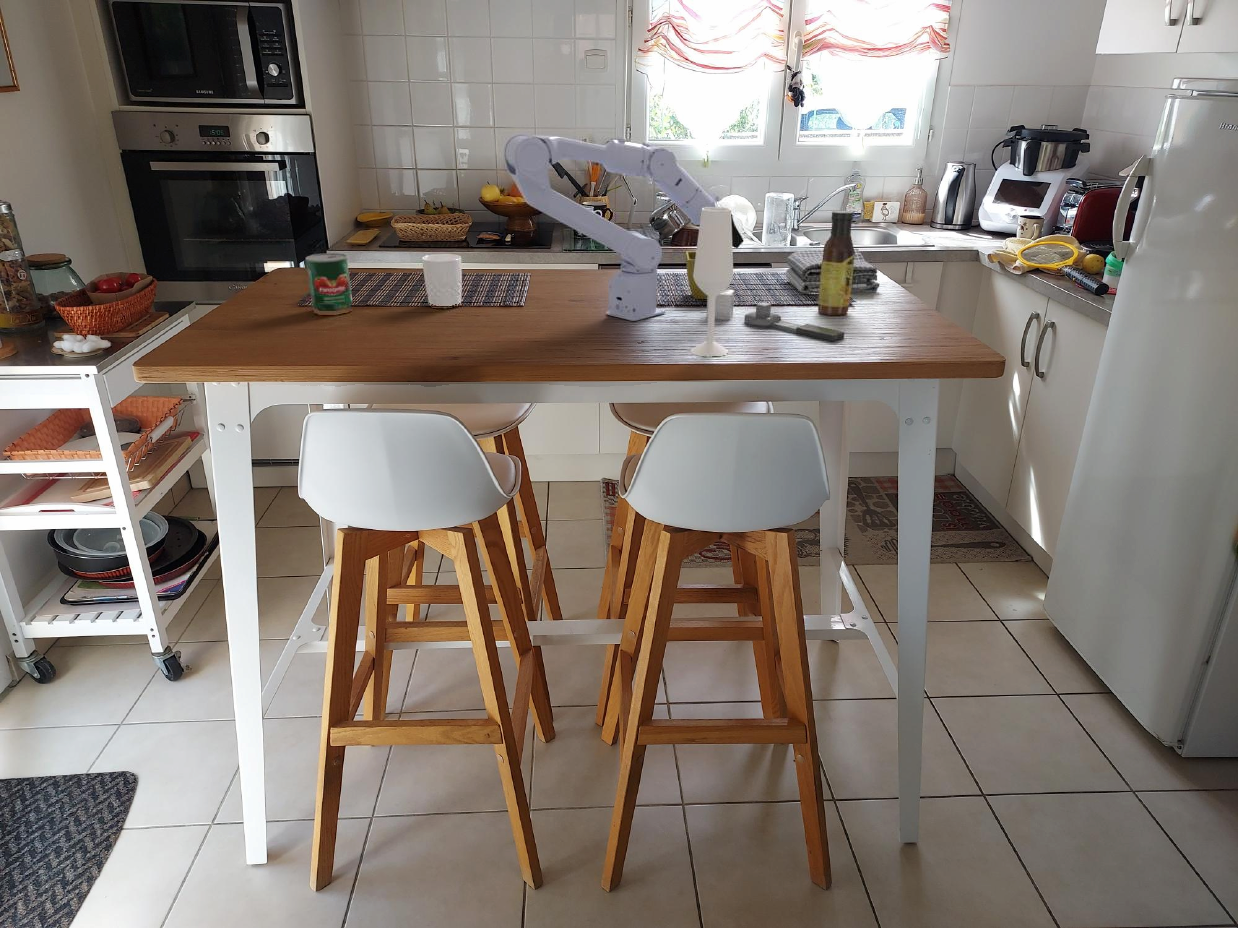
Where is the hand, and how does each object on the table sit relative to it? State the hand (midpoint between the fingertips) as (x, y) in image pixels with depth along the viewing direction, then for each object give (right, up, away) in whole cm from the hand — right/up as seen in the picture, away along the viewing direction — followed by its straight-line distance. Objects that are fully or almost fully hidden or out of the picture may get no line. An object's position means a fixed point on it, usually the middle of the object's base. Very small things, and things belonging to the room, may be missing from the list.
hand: (732, 240), depth 172 cm
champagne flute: (-7, -26, -24) cm, 36 cm away
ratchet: (+10, -20, -11) cm, 25 cm away
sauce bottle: (+21, -15, +1) cm, 25 cm away
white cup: (-59, -12, +6) cm, 61 cm away
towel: (+25, -5, +22) cm, 34 cm away
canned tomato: (-81, -14, +1) cm, 83 cm away
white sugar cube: (-3, -16, -2) cm, 16 cm away
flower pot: (-4, -9, +13) cm, 17 cm away
